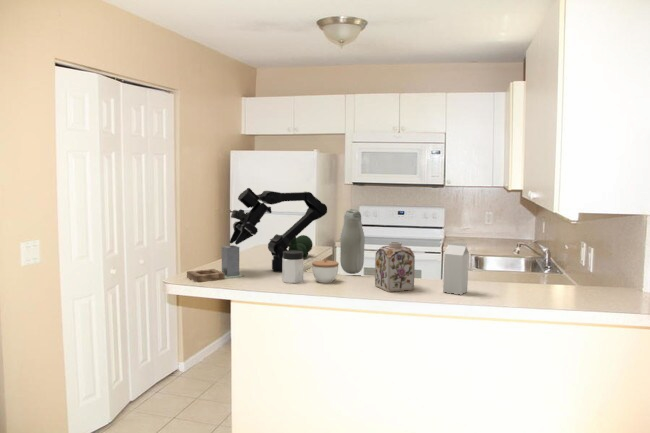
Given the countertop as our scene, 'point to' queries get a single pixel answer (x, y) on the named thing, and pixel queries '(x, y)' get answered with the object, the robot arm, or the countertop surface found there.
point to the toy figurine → (301, 244)
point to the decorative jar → (394, 268)
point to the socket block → (205, 275)
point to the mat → (233, 276)
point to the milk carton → (456, 268)
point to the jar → (292, 266)
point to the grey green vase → (352, 243)
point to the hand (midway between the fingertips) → (232, 243)
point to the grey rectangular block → (230, 260)
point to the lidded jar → (325, 270)
